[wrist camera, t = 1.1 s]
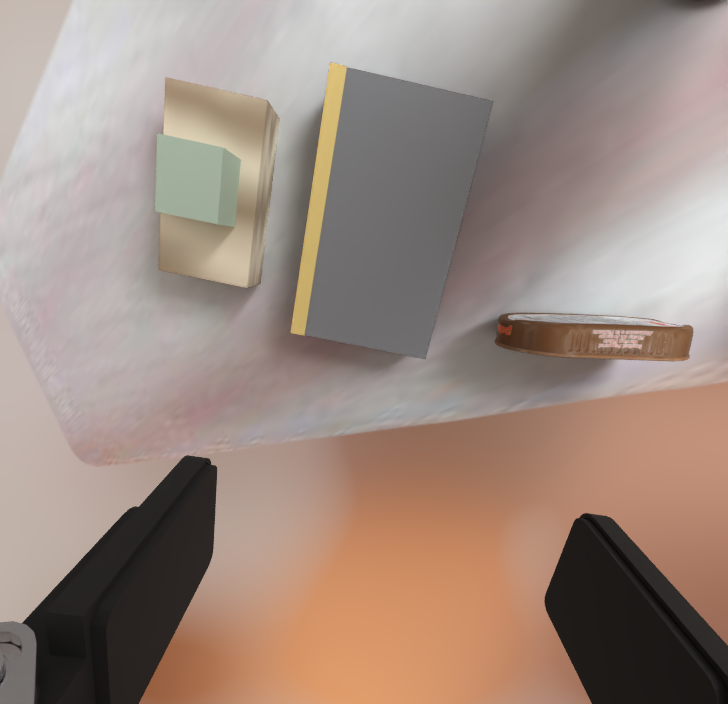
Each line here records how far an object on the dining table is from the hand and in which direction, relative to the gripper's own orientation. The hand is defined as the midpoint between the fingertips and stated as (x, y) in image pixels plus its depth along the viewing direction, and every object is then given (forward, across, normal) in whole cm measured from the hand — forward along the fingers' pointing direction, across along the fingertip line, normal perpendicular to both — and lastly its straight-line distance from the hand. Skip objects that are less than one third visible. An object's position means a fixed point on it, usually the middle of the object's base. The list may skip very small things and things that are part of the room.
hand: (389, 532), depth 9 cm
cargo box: (+23, +15, -10) cm, 29 cm away
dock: (+26, +1, -9) cm, 28 cm away
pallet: (+27, +15, -9) cm, 32 cm away
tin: (+27, -18, -3) cm, 32 cm away
